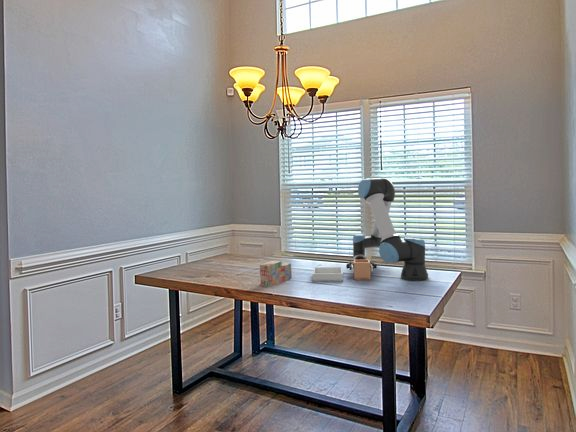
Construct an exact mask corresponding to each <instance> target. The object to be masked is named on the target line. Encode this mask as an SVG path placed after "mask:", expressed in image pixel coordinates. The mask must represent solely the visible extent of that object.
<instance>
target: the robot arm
mask: <svg viewBox="0 0 576 432" xmlns="http://www.w3.org/2000/svg"><path fill="white" fill-rule="evenodd" d="M357 194H358V196H359V198H361V199H364V202H365V204H368V205H369V207H370V211H371V213H372V216H373V219H374V222H373V225H372V230H371V235H370V236H365V234H364V233H355V234H353V236H352V249H353V250H352V252H353V253H352V255H353V256H352V259H353V261H351V260H350V261H348V263H346V264H345V265H346V266H345V267H346V269H347V270H349V271H351V272H352V273H354V260H357V259H366V249H369V248H370V249H371V248H378V253H379V256H380V258H381V259H382V260H383V262H385V263H387V264H392V263H393V264H396V263H402V262H403V266H402V270H401V272H400V278H401V279H403V280H406V281H418V282H419V281H426V280H428V279H429V272H428V270H427V266H426V241H425V240H424V239H422V238H418V237H416V238H415V237H406V236H405V237H404V238H403V240H402V238H401V236H400V235H398V234H397V232H396V231H395V227H394V226H393V222H392V219H391V217H390V214H389V213H390V209H391V205H392V203H393V202H394V201H395V198H396V190H395V186H394V184H393V182H392V181H391V180H390V179H388V178H386V177H379V178H377V177H375V178H364V179H362V180H360V181H359V183H358V187H357ZM369 261H370V273H371V272H374V271H373V270H375V269H378V268H377V263H375V262H373V261H372V260H369Z"/></svg>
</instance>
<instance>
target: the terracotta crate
mask: <svg viewBox="0 0 576 432" xmlns="http://www.w3.org/2000/svg"><path fill="white" fill-rule="evenodd" d="M370 261H371V260H370V259H366V258H365V259H357V260H353V262H354V268H353V279H354V280H355V281H356V280H357V281H361V280H362V281H363V280H365V281H367V280H368V281H369V280H371V269H370Z"/></svg>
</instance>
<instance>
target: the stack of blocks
mask: <svg viewBox="0 0 576 432" xmlns="http://www.w3.org/2000/svg"><path fill="white" fill-rule="evenodd" d="M259 274H260V286H262V287H263V286H264V287H269V288H270V287H271V286H275V285H278V284H281V283H284V282H286V281H289V280H291V279H293V277H292V276H293V275H292V263H290V262H282V261H281V260H270V261H267V262H264V263H260V264H259Z"/></svg>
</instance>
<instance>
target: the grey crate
mask: <svg viewBox="0 0 576 432" xmlns="http://www.w3.org/2000/svg"><path fill="white" fill-rule="evenodd" d="M343 277H344V276H343V267H342V266H331V267H330V266H328V267H327V266H325V267H323V266H317V267H316V266H314V267H313V271H312V282H316V283H317V282H344V281H343Z"/></svg>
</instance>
